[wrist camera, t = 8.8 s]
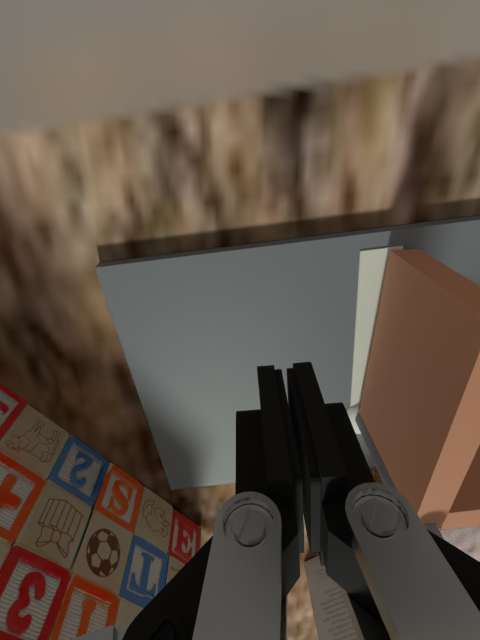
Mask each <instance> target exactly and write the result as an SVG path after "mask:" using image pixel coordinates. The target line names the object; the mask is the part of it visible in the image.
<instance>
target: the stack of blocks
mask: <svg viewBox="0 0 480 640" xmlns="http://www.w3.org/2000/svg"><path fill="white" fill-rule="evenodd" d="M200 538H201V527H199V526H198V525H197V524H195V523H194V522H192V521H191V520H189V519H188V518H186V517H185V516H184V515H182V514H181V513H179V512H178V511H176V510H175V509H173V507H172V506H171V505H170V504H169V503H167V502H166V501H165V500H163V499H162V498H160V497H159V496H158V495H156V494H155V493H154V492H152V491H151V490H149V489H147V488H146V487H143V485H142V484H141V483H139V482H138V481H137V480H135V479H134V478H133V477H131V476H130V475H128V474H127V473H126V472H124V471H123V470H122V469H120V468H119V467H117V466H116V465H115V464H113V463H110V462H108V461H107V460H106V459H105V458H104V457H102V456H101V455H99V454H98V453H96V452H95V451H94V450H92V449H91V448H89V447H88V446H86V445H85V444H84V443H82V442H81V441H79V440H78V439H77V438H75V437H74V436H72V435H70V434H69V433H68V432H66V431H65V430H64V429H62V428H61V427H59V426H58V425H56V424H55V423H54V422H52V421H51V420H49V419H48V418H47V417H45V416H44V415H42V414H41V413H40V412H38V411H37V410H35V409H34V408H32V407H31V406H29V405H28V404H27V402H26V401H24V400H23V399H21V398H20V397H19V396H17V395H16V394H15V393H13V392H12V391H10V390H9V389H8V388H6V387H5V386H3V385H2V384H1V383H0V640H71V639H73V638H76V637H79V636H82V635H85V634H88V633H90V632H93V631H96V630H99V629H102V628H105V627H107V626H110V625H114V626H115V628H118V627H120V626H123V625H126V624H129V623H132V621H133V620H134V619H135V617H136V616H137V615H138V614H139V613H140V612H141V611H142V610H143V608H144V607H145V606H146V605H147V604H148V603H149V602H150V601H151V600H152V599H153V598H154V597H155V596H156V595H157V594H158V593H159V592H160V591H161V590H162V589H163V588H164V586H165V585H166V584H167V583H168V582H169V581H170V580H171V579H172V578H173V577H174V576H175V575H176V574H177V573H178V572H179V571H180V570H181V569H182V568H183V567H184V565H185V564H186V563H187V562H188V561H189V560H190V559H191V558H192V557H193V556H194V555H195V554H196V553H197V552H198V551H199V550H200Z"/></svg>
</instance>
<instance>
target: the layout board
mask: <svg viewBox="0 0 480 640" xmlns="http://www.w3.org/2000/svg"><path fill="white" fill-rule="evenodd" d="M407 249H420V250H422V251H423V252H425V253H427V254H428V255H430V256H432V257H433V258H435V259H436V260H438V261H440V262H441V263H443V264H445V265H446V266H448V267H449V268H451V269H453V270H454V271H456V272H458V273H459V274H461V275H463V276H464V277H466V278H467V279H469V280H471V281H472V282H474V283H476V284H477V285H479V286H480V215H478V216H470V217H462V218H454V219H445V220H437V221H429V222H421V223H413V224H405V225H397V226H389V227H381V228H373V229H365V230H357V231H349V232H341V233H333V234H325V235H317V236H309V237H301V238H293V239H285V240H277V241H269V242H261V243H253V244H245V245H237V246H229V247H221V248H213V249H205V250H197V251H189V252H181V253H173V254H165V255H157V256H149V257H141V258H133V259H125V260H117V261H109V262H101V263H99V264H98V265H97V266H96V267H95V270H96V273H97V276H98V278H99V281H100V284H101V287H102V290H103V293H104V296H105V299H106V302H107V305H108V308H109V311H110V313H111V316H112V319H113V322H114V325H115V328H116V331H117V334H118V337H119V340H120V343H121V345H122V348H123V351H124V354H125V357H126V360H127V363H128V366H129V369H130V372H131V375H132V378H133V380H134V383H135V386H136V389H137V392H138V395H139V398H140V401H141V404H142V407H143V410H144V412H145V415H146V418H147V421H148V424H149V427H150V430H151V433H152V436H153V439H154V442H155V445H156V447H157V450H158V453H159V456H160V459H161V462H162V465H163V468H164V471H165V474H166V477H167V480H168V482H169V485H170V488H171V490H176V489H185V488H194V487H202V486H211V485H220V484H229V483H236V411H245V410H257V409H261V408H260V397H259V385H258V374H257V366H268V365H274V367H275V369H281V370H282V375H283V380H284V385H285V390H286V395H287V401H288V390H287V368H293V363H301V362H311V363H312V366H313V369H314V372H315V375H316V378H317V381H318V384H319V387H320V390H321V393H322V397H323V400H324V403H325V404H327V403H339V402H342V403H343V404H344V406H345V408H346V411H347V413H348V416H349V418H350V421H351V423H352V426H353V428H354V431H355V433H356V436H357V438H358V441H359V443H360V446H361V449H362V451H363V454H364V456H365V459H366V461H367V464H368V466H369V467H376V465H375V463H374V461H373V459H372V457H371V454H370V452H369V450H368V448H367V446H366V443H365V441H364V439H363V437H362V435H361V432H360V430H359V428H358V426H357V424H356V422H355V418H356V416H357V414H359V410H360V405H361V400H362V395H363V389H364V384H365V379H366V374H367V369H368V364H369V358H370V353H371V348H372V343H373V338H374V333H375V327H376V322H377V317H378V312H379V307H380V301H381V296H382V291H383V286H384V281H385V276H386V270H387V265H388V260H389V255H390V250H407Z"/></svg>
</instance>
